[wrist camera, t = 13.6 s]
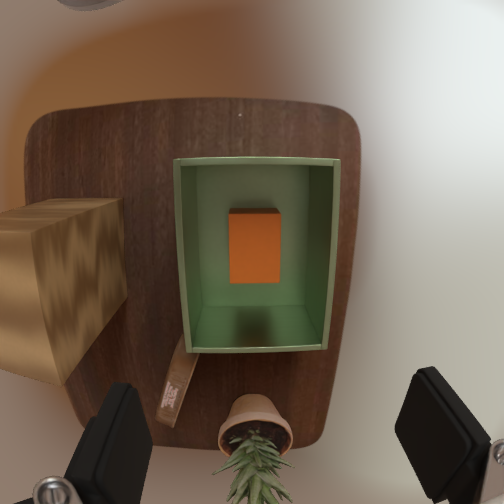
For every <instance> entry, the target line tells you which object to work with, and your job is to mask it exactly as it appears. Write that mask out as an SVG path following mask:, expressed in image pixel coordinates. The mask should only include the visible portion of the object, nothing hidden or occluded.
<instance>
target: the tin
mask: <svg viewBox="0 0 504 504" xmlns="http://www.w3.org/2000/svg"><path fill="white" fill-rule="evenodd" d="M199 354H200V353H187V352H186V345H185V337H184V332H183V334H182V335H181V337H180V338H179V341H178V343H177V346H176V348H175V351H174V353H173V356H172V359H171V362H170V365H169V368H168V371H167V375H166V378H165V381H164V385H163V388H162V391H161V395H160V398H159V402H158V406H157V410H156V414H155V420H156V421H157V422H160V423H162V424H165V425H168V426H170V427H172V428H174V425H175V422H176V419H177V416H178V414H179V411H180V408H181V405H182V402H183V399H184V396H185V394H186V391H187V388H188V385H189V383H190V380H191V377H192V374H193V371H194V368H195V365H196V362H197V360H198V357H199Z"/></svg>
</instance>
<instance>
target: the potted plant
mask: <svg viewBox="0 0 504 504" xmlns="http://www.w3.org/2000/svg"><path fill="white" fill-rule="evenodd" d="M292 442H293V436H292V432H291V428H290V426H289V424H288V423H287V422H286V421H285V420H284V419H283V418H281V416H280V414H279V413H278V411H277V410H276V408H275V406H274V405H273V403H272V401H271V400H270V399H269V398H267V397H266V396H263V395H260V394H246V395H243V396H241V397H239V398H237V399H236V400H235V402H234V403H233V405H232V408H231V411H230V413H229V416H228V418H227V420H226V422H224V423H223V425H222V426H221V427H220V431H219V435H218V445H219V448H220V450H221V451H222V452H223V453H224V454H225V455H226V456H227V457H229V459H228V461H227V462H226V463H225V464H224V465H223V466H222V467H221V468H220V469H219V470H217V471H215V472H214V473H213V474H212V475H214V474H216V473H218V472H220V471H223V470H225V469H227V468H230V467H232V466H233V465H236V464H237V465H236V466H235V467H234V469H233V470H232V472H235V471H236V470H239V469H240V470H239V473H238V475H237V476H236V478H235V479H234V481H233V483H232V484H231V491H230V493H229V495H228V497H227V502H228V501H229V500H230V499H231V498H232V497H233V496H234V495H235V497H234V499H233V502H232V504H238V503H239V502H240V501H241V500H242V499H243V498H244V497H246V496H248V503H247V504H264V501H265V502H266V503H267V504H279V503H278V501H277V500H276V499H275V497H274V496H273V494H272V492H271V490H270V488H273V489H275V490H276V492H277V493H278V495H279V497H280V499H281V500H282V501H283V499H282V496H281V495H283V496H284V497H285V498H287V499H288V500H289V501H290V502H292V499H291V496H290V494H289V493H288V492H287V490H286V489H285V488H284V487H283V485H281V483H280V482H278V481H277V479H276V478H275V477H274V476H273V475H272V473H271V472H270V471H269V470H271V471H272V472H273V473H274V474H275V475H277V476H278V477H279V475H278V473H277V472H276V470H275V469H274V468H279V469H281V466H280V465H279V463H282V464H285V465H288V466H290V467H293V468H295V467H294V466H293V465H292V464H290V463H289V462H287V461H285V460H283V459H281V458H280V457H281V456H283V455H284V454H285V453H287V452H288V450H289V449H290V447H291V446H292Z"/></svg>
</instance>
